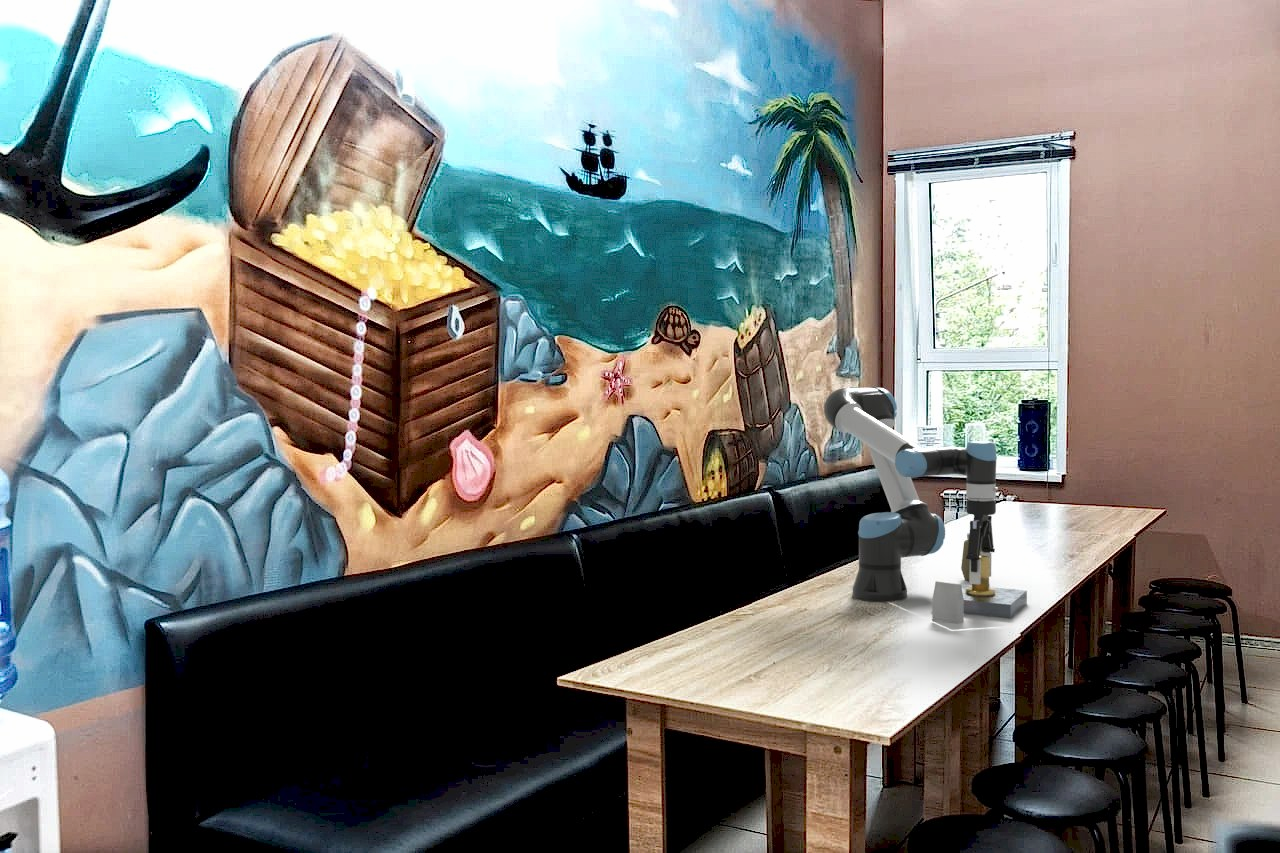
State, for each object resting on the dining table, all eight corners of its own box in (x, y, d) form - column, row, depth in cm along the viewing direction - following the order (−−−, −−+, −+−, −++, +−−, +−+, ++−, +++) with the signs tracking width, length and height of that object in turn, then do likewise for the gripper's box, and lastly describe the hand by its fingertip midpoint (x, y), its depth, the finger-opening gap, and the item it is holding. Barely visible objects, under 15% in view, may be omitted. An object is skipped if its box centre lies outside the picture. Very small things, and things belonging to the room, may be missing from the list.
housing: (1010, 620, 278) (1010, 604, 278) (932, 611, 288) (932, 596, 288) (1026, 605, 295) (1026, 590, 295) (952, 597, 306) (952, 583, 305)
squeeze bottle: (958, 581, 328) (958, 522, 327) (963, 577, 335) (964, 519, 334) (986, 584, 324) (986, 524, 323) (990, 579, 331) (991, 520, 330)
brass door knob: (975, 610, 287) (975, 559, 287) (960, 604, 295) (960, 555, 294) (1000, 609, 289) (1001, 558, 288) (985, 603, 297) (985, 553, 296)
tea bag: (957, 625, 274) (957, 585, 273) (932, 621, 278) (932, 582, 278) (963, 622, 277) (963, 583, 276) (938, 618, 281) (938, 580, 280)
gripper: (984, 504, 278) (984, 589, 279) (1005, 495, 299) (1004, 573, 300) (955, 503, 282) (954, 586, 283) (977, 493, 302) (977, 571, 304)
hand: (980, 580), depth 292 cm, fingers open, 11 cm apart
